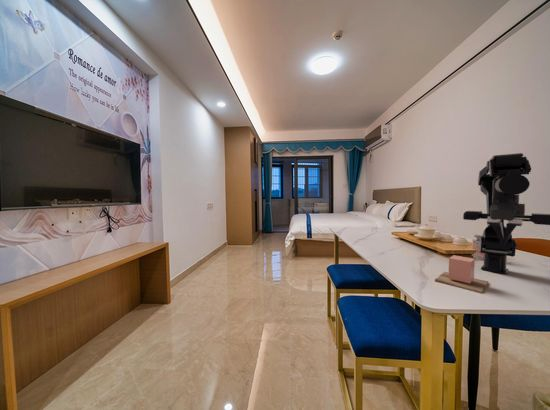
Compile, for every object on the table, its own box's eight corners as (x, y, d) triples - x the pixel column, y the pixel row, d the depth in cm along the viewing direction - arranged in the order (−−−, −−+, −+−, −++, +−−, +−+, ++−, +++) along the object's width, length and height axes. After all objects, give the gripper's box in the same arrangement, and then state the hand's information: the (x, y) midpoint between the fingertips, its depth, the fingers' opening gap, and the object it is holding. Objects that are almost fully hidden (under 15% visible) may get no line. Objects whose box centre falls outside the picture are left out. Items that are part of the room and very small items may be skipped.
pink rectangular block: (453, 274, 71) (453, 255, 71) (474, 279, 67) (474, 258, 67) (448, 278, 68) (449, 258, 68) (470, 283, 64) (470, 262, 64)
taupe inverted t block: (444, 273, 75) (445, 253, 75) (488, 283, 67) (489, 261, 66) (434, 281, 69) (435, 259, 68) (481, 293, 60) (482, 268, 60)
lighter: (492, 261, 88) (493, 237, 88) (482, 260, 89) (483, 237, 88) (478, 255, 96) (478, 234, 96) (469, 255, 97) (470, 233, 96)
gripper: (459, 195, 69) (458, 243, 69) (555, 194, 54) (552, 255, 55) (467, 195, 75) (466, 238, 76) (554, 194, 61) (551, 248, 62)
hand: (503, 244), depth 67 cm, fingers closed
